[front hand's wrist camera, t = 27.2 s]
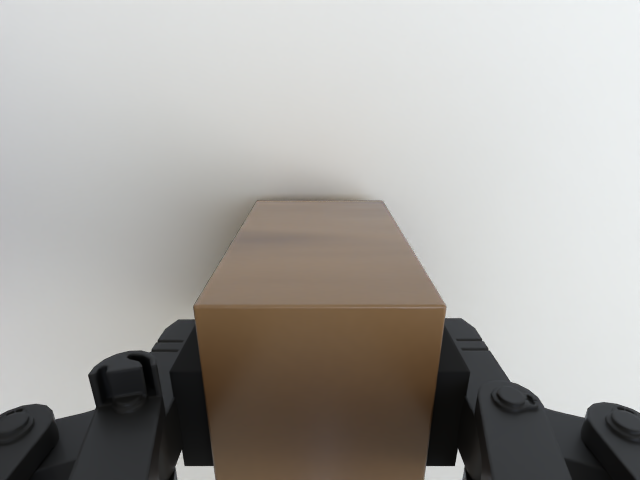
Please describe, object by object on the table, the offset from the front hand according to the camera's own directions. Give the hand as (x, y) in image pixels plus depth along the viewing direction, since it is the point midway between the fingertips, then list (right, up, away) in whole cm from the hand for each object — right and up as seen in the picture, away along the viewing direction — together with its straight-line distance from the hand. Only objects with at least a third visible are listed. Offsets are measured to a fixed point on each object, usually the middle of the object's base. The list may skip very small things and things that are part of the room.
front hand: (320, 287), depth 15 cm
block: (0, +1, +1) cm, 1 cm away
